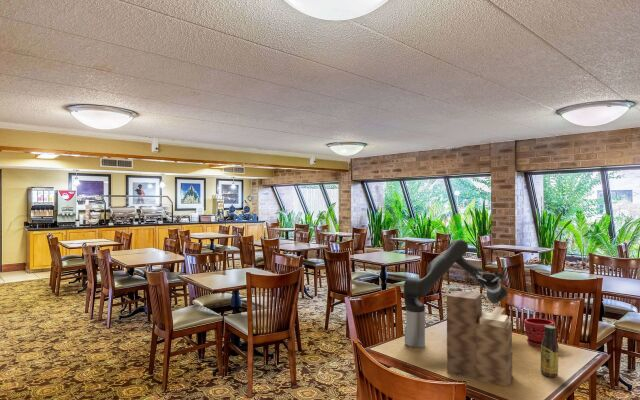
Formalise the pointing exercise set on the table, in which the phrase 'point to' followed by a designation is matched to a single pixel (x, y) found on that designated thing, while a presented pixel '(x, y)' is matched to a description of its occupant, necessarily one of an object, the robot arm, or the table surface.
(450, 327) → the block
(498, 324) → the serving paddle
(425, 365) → the table surface
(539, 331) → the plant pot
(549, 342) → the sauce bottle
